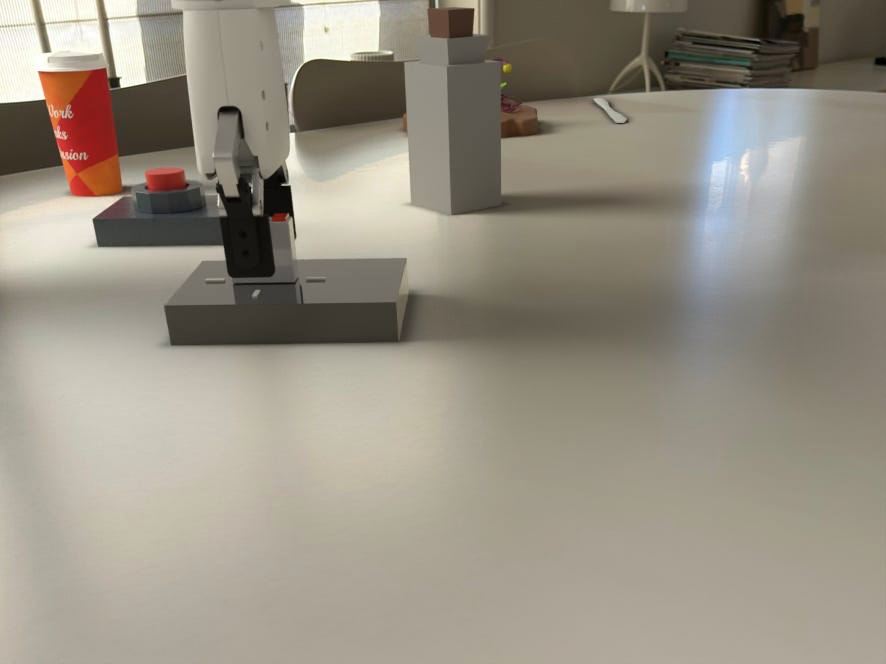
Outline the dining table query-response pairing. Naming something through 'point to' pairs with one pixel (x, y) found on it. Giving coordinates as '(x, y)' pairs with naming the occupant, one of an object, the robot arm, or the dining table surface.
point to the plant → (510, 113)
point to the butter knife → (610, 110)
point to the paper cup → (82, 119)
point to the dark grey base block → (292, 305)
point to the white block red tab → (280, 252)
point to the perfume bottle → (453, 116)
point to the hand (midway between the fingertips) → (264, 258)
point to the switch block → (160, 218)
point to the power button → (165, 179)
